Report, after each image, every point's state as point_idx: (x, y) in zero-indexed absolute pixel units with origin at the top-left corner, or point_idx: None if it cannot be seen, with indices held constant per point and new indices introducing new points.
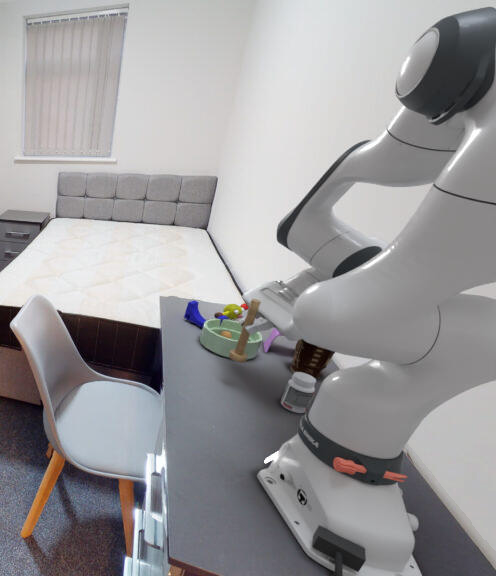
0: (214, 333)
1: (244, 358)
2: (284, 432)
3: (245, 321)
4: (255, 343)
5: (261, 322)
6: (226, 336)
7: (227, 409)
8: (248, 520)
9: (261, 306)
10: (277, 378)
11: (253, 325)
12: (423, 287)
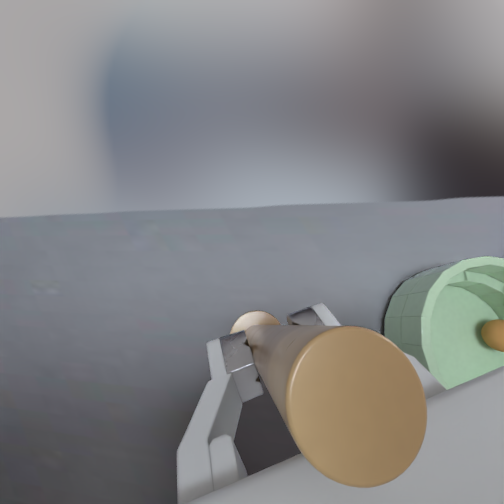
0: (436, 285)
1: None
2: (87, 448)
3: (267, 328)
4: None
5: (199, 436)
6: (492, 335)
7: (130, 323)
8: None
9: (420, 478)
10: None
11: (215, 375)
12: None
